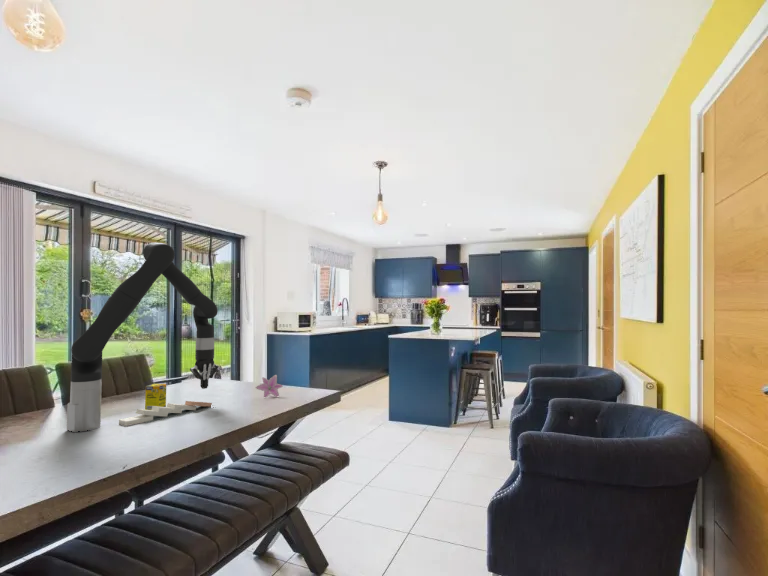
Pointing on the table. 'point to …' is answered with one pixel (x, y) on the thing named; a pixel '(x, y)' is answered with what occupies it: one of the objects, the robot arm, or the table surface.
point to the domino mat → (170, 415)
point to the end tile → (135, 420)
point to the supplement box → (155, 396)
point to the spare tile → (198, 403)
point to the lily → (269, 386)
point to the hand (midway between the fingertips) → (204, 388)
